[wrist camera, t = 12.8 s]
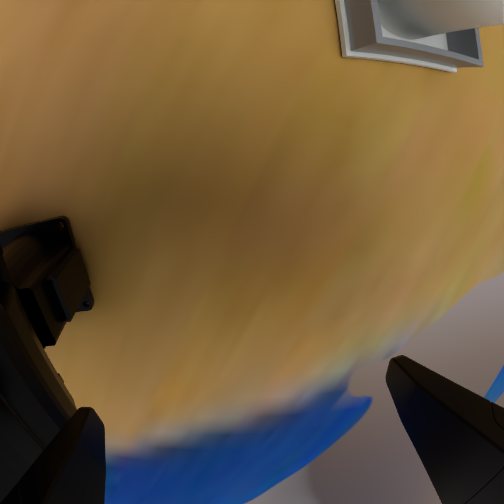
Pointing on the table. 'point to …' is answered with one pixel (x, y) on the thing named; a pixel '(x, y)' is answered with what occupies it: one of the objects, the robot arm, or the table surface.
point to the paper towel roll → (438, 16)
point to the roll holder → (402, 41)
